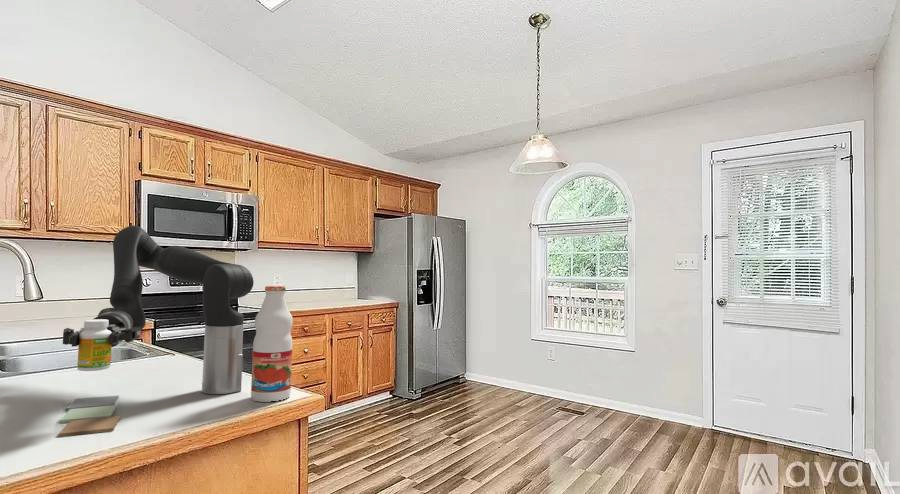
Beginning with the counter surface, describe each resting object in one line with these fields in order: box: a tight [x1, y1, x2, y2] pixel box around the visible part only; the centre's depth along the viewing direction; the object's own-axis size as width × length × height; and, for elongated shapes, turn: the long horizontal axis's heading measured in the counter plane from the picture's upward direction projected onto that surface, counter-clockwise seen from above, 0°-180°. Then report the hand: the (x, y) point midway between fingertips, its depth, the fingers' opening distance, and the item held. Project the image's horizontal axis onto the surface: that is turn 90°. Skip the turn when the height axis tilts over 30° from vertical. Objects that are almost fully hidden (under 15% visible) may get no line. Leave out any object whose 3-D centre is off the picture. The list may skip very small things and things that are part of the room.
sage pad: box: [59, 404, 118, 424], centre depth 104 cm, size 8×8×1 cm
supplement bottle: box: [77, 318, 113, 372], centre depth 97 cm, size 5×5×10 cm
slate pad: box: [65, 394, 120, 412], centre depth 112 cm, size 8×8×1 cm
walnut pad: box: [58, 415, 121, 438], centre depth 96 cm, size 8×8×1 cm
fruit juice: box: [250, 285, 294, 403], centre depth 121 cm, size 9×9×28 cm
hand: (93, 340), depth 95 cm, fingers closed on supplement bottle, 5 cm apart
